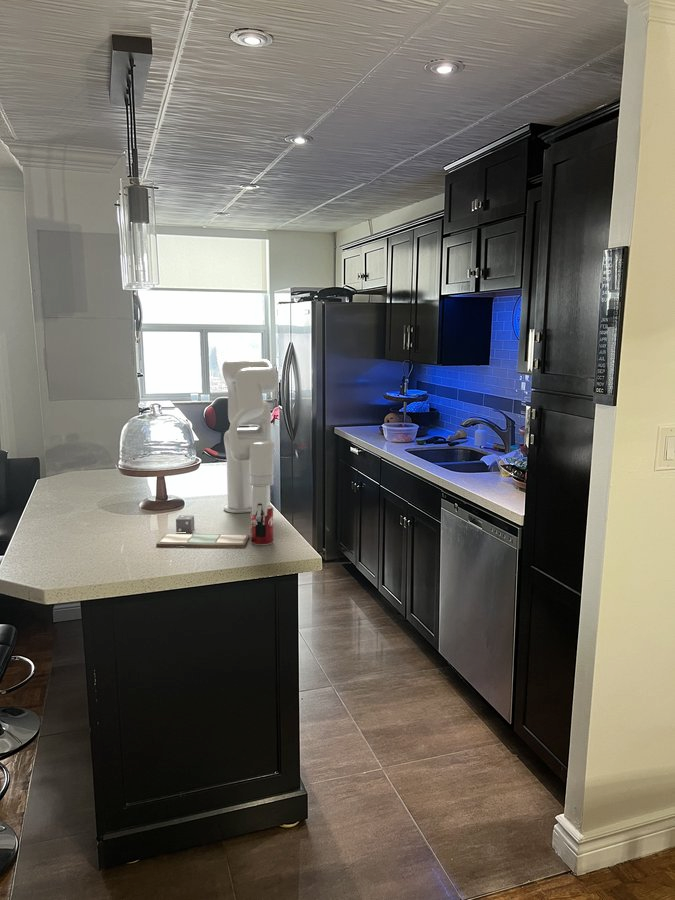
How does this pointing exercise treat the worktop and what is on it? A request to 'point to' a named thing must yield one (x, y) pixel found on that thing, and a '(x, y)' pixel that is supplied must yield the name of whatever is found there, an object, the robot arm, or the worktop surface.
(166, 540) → the board
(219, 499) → the worktop surface
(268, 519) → the soda can
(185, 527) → the die
